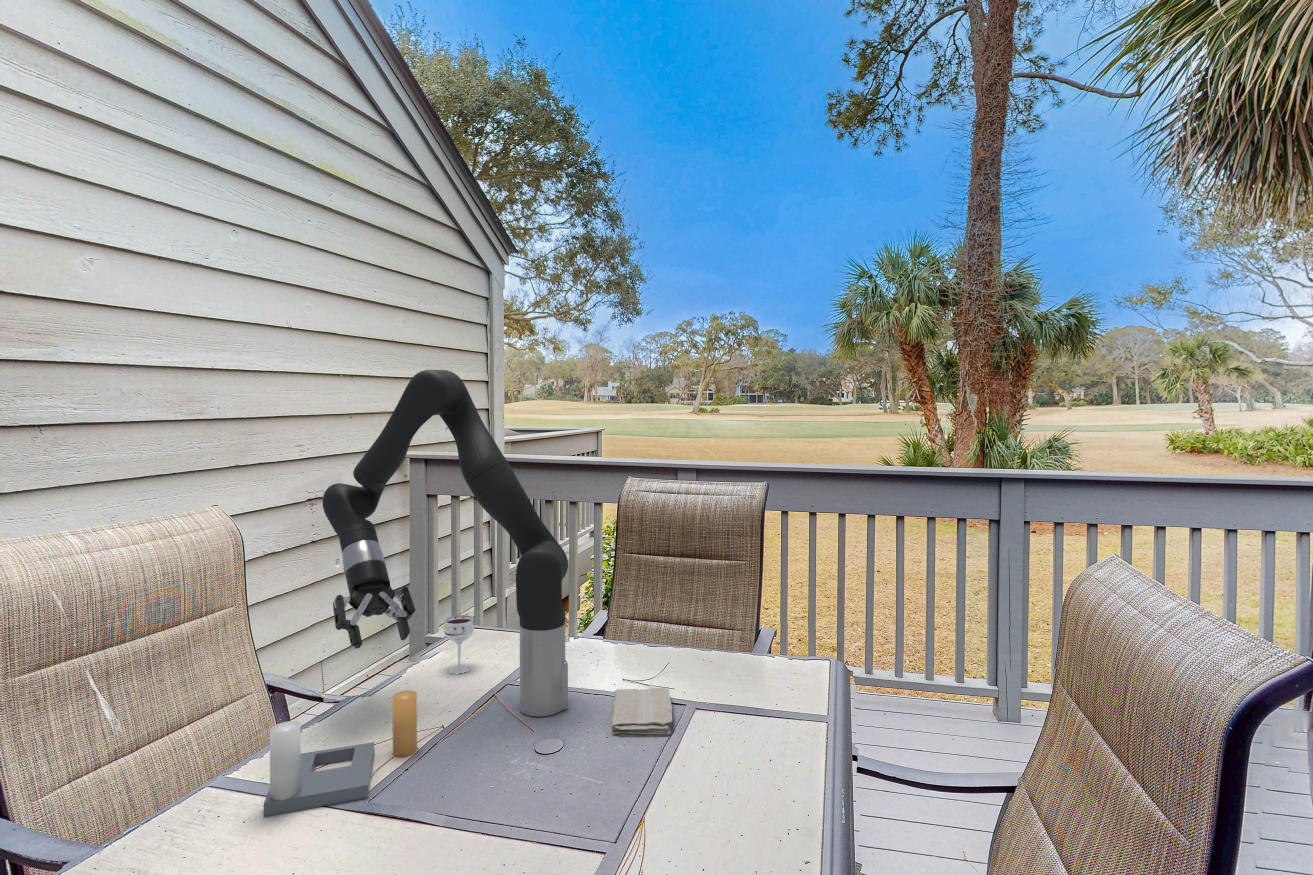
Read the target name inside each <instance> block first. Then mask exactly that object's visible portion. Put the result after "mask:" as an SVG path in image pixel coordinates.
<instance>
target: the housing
mask: <svg viewBox="0 0 1313 875" xmlns="http://www.w3.org/2000/svg"><path fill="white" fill-rule="evenodd" d="M301 750H302V749H301V722H299V721H295V720H289V721H283V722H281V723H277V724H275V725H273V726H271V728H270V729H269V776H270V777H269V783H270V784H269V789H268V791H267V794H266V796H265V800H264V802H263V818H265V817H270V816H276V815H281V814H282V815H283V814H286V813H293V812H297V811H302V810H303V811H304V810H307V809H313V808H319V807H323V806H330V805H336V804H341V803H348V802H353V801H357V800H362V799H368V798H369V792H370V786H371V779H372V772H373V766H374V765H373V764H374V758H375V742H374V741H372V742H367V743H360V744H354V745H348V746H341V747H335V748H329V749H328V748H327V749H321V750H314V751H309V752H308V751H307V752H302V751H301ZM301 752H302V753H301ZM347 761H351V764H350V765H345V766H340V767H334V768H328V769H323V770H316V766H322V765H327V764H333V763H334V764H335V763H339V762H347Z"/></svg>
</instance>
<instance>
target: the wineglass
mask: <svg viewBox="0 0 1313 875" xmlns="http://www.w3.org/2000/svg"><path fill="white" fill-rule="evenodd" d="M473 621H474V617H473V616H472V615H468V614H466V615H464V614H463V615H461V614H460V615H452V616H450V617H447V618H445V619H444V623H445V625H444V628H443V632H444V635H445V637H446V638H447V639H448V640H450V641H451V642H454V643H455V644H456V645H457V660H458V662H457V663H458V666H454V667H452V669H451V668H450V669H448V671H449V672H450V673H455V674H454V675H460V674H459V673H463V674H465V673H464V672H466V673H468V672H469V671H468V670H469V668H470V667H469V666H467V667H465V665H461V657H462V656H461V655H462V653H461V652H462V643H464V641H467V640H468V639H469V638H470V637H471V636H472V635H473V633H474V630H475V624H474V623H473ZM468 667H469V668H468ZM467 671H468V672H467ZM449 672H448V673H449ZM450 673H449V674H450Z"/></svg>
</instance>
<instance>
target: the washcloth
mask: <svg viewBox="0 0 1313 875" xmlns="http://www.w3.org/2000/svg"><path fill="white" fill-rule="evenodd" d="M670 695H671V693H670V689H669V687H651V688H642V689H638V688H623V689H622V688H621V689H618V688H617V689H616V690H614V695H613V704H612V706H613V707H612V717H611V722H610V727H611V736H616V735H618V736H619V737H620V736H621V737H665V736H670V735H671V733H672V723H673V706H672V699H671V696H670Z"/></svg>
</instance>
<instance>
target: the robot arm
mask: <svg viewBox="0 0 1313 875" xmlns="http://www.w3.org/2000/svg"><path fill="white" fill-rule="evenodd" d="M433 416H440V418H441V420H442V421H443V422H444V424H445V425H446V427H447V428H448V430H449V431H450V433H451V435H452V437H453V439H454V442H455V445H456V447H457V448H456V449H457V454H458V460H459V466H460V470H461V474H462V476H463V478H464V481H465V483H466V484H467V487H468V488H469V489H470V491H471V493H472V494H473V496H474V497H475V500H476V501H477V502H478V503H479V505H480V506H481V507H482V509H483V510H484V511H485V512H486V513H487V514H488V515H489V516H490V517H492V519H493V520H495V521H496V522H497V523H498V524H499V525H500V526H501V527H502V528H503V529H504V530H505V531H506V532H507V533H508V535H509V537H511V539H512V541H513V543H514V544H515V546H516V548H517V550H518V552H519V554H520V556H521V557H520V558H519V559H518V561H517V563H516V564H517V565H516V570H515V571H516V572H515V596H516V598H515V599H516V601H515V602H516V611H517V614H518V618H519V710H520V712H521V713H522V714H524V715H526V716H529V717H537V718H538V717H547V716H548V717H549V716H552V715H556V714H558V713H560V712H562V711H566V710H568V709H569V707H568V706H569V705H568V704H569V702H568V701H569V697H568V696H569V686H568V685H569V672H568V671H569V663H568V661H567V659H566V610H565V608H564V605H563V584H562V583H563V579H564V578H565V577H566V575H567V573H568V570H569V560H568V556H567V554H566V552H565V550H564V548H563V547H562V546H561V544H560V543H559V542H558V541H557V539H556V538H555V537H554V535H553V534H552V533H551V531H550V530H549V529H548V527H547V526H546V525H545V524H544V521H542V519H541V517H540V516H539V515H538V513H537V511H536V510H535V507H534V506H533V504H532V502H531V499H530V498H529V496H528V495H527V493H526V491H525V489H524V488H523V486H522V485H521V483H520V481H519V479H518V477H517V476H516V473H515V472H514V470H513V469H512V466H511V465H510V463H509V462H508V460H507V459H506V457H505V456H504V454H503V452H502V451H501V450H500V448H499V446H498V445H497V443H496V441H495V439H494V438H493V436H492V435H491V433H490V431H489V430H488V429H487V427H486V425H485V424H484V421H483V420H482V418H481V416H480V414H479V411H478V410H477V408H476V406H475V404H474V401H473V399H472V397H471V395H470V393H469V391H468V388H467V385H466V384H465V382H464V381H463V380H462V378H460V376H459V375H457V373H455V372H453V371H451V370H447V369H446V370H445V369H424V370H421V371H419V372H417V373H415V374H414V375H413V376H412V377H411V379H410V381H409V382H408V384H407V385H406V387H405V389H404V390H403V392H402V394H401V396H400V398H399V400H398V403H397V405H396V406H395V408H394V410H393V412H392V414H391V415H390V417H389V419H388V421H387V423H386V424H385V426H384V427H383V429H382V431H381V432H380V434H379V435H378V436H377V438H376V439H375V441H374V442H373V443H372V445H371V446H370V447H369V449H368V450H367V451H366V453H365V454H364V455H363V456H362V458H361V459H360V460H359V461H358V463H357V464H356V466H355V468H353V472H352V474H353V478H354V479H355V481H356V483H358V484H359V485H361V486H357V485H353V484H348V483H347V484H346V483H341V482H340V483H339V482H338V483H333V484H331V485H330V486H328V487H327V488H326V490H325V492H324V493H323V496H322V508H323V513H324V514H325V515H324V516H325V517H326V518H327V520H328V521H329V524H330V525H331V527H332V528H333V531H334V532H335V533H336V535H337V537H338V539H339V540H338V541H339V545H340V549H341V550H340V551H341V554H342V564H343V572H344V574H345V579H346V584H347V590H348V593H349V596H343V595H342V594H337V595H336V597H335V598H334V599H333V600H334V601H333V602H332V607H333V608H332V609H333V615H334V616H333V617H334V624H335V625H334V626H335V629H336V630H338V631H339V630H346V631H347V633H348V638H349V643H350V645H351V647H354V649H355V650H356V649H357V650H358V649H360V648H361V646H362V645H363V641H362V640H363V639H362V634H361V630H360V626H359V624H358V622H359V621H360V619H361V617H362V616H364V617H365V618H368V617H369V618H370V617H372V616H381V615H382V616H383V614H385V615H386V616H387V617H388V618H392V619H394V620H395V621H396V625H397V631H398V634H399V639H400V641H405V640H406V639H407V638H408V636H409V634H410V632H411V630H410V625H409V621H408V620H409V619H411V618H412V616H413V615H414V614H415V613H416V608H415V607H416V606H415V604H414V601H413V599H412V596H411V593H410V589H409V587H408V586H403V587H402V588H401V589H397V590H394V589H393V588H392V586H391V581H390V580H391V579H390V577H389V573H388V570H387V568H388V567H387V565H386V562H385V557H384V554H383V553H384V552H383V551H382V548H381V545H380V543H379V539H378V538H379V537H378V534H377V530H376V526H375V525H374V523H373V522H372V521H371V520H368V518H369V517H371V516H372V515H373V514H374V512H376V510H377V508H378V505H379V502H380V499H381V496H382V495H383V492H384V490H385V487H386V485H387V483H388V482H389V481H390V479H392V478H393V476H394V474H395V473H396V472H397V471H398V470H399V468H400V467H401V466H402V464H403V462H404V460H405V458H406V456H407V453H408V451H409V447H410V444H411V442H412V440H413V438H414V437H415V435H416V434H417V432H418V431H419V429H420V428H422V426H423V425H425V423H426V422H428V421H429V420H430V419H431V418H432V417H433ZM395 598H396V599H397V602H400V604H399V603H397V602H396V601H395V600H394V599H395ZM348 605H350V607H351V608H353V609H354V610H355V612H354V614H353V616H352V618H351V620H350V619H347V618H346V616H347V615H346V607H347V606H348ZM400 605H401V607H402V608H401V607H400Z"/></svg>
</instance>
